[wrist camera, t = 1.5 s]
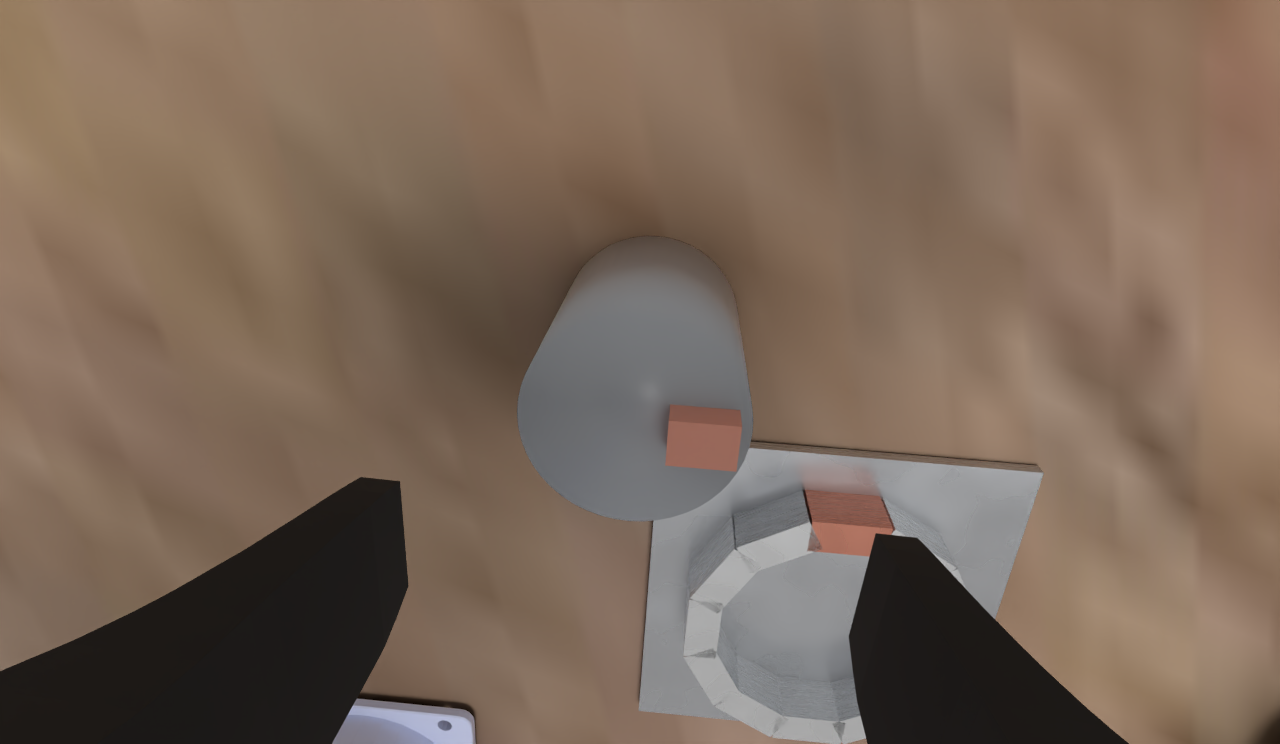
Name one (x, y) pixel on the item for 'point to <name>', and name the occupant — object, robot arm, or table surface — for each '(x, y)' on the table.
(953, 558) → the duct collar
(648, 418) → the grey cylinder
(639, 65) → the table surface
